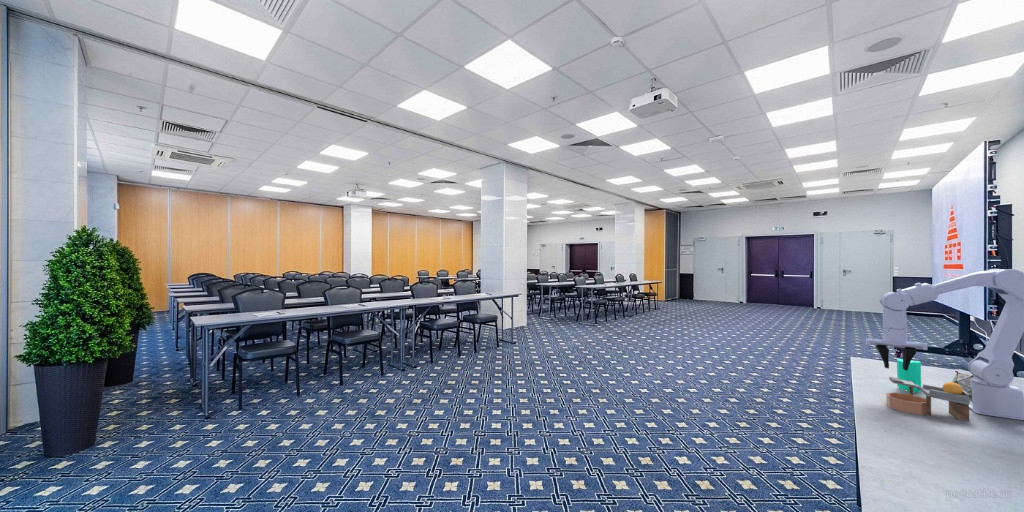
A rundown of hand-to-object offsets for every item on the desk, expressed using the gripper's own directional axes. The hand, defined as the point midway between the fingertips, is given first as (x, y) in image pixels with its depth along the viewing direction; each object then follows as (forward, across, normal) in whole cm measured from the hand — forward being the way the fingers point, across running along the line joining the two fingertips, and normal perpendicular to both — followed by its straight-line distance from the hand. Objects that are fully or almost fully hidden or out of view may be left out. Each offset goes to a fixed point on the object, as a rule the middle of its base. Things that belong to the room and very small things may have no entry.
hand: (895, 368), depth 127 cm
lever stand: (+10, +8, -5) cm, 14 cm away
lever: (+5, +6, -5) cm, 9 cm away
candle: (+11, +7, +16) cm, 21 cm away
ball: (+2, +10, -9) cm, 14 cm away
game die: (+11, +22, +18) cm, 30 cm away
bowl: (+10, +1, -9) cm, 14 cm away
